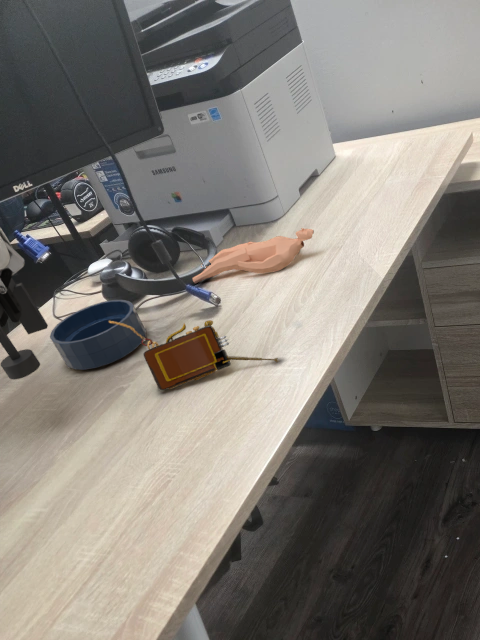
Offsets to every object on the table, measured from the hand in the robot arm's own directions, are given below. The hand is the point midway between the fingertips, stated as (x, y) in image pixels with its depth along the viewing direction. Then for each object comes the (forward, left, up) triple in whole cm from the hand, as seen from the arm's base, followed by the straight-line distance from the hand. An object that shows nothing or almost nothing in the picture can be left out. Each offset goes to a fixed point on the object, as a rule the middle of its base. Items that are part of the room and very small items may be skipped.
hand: (10, 320), depth 91 cm
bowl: (+6, +15, -14) cm, 22 cm away
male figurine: (+35, +31, -15) cm, 49 cm away
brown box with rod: (+24, -6, -15) cm, 29 cm away
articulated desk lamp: (0, 0, -5) cm, 5 cm away
